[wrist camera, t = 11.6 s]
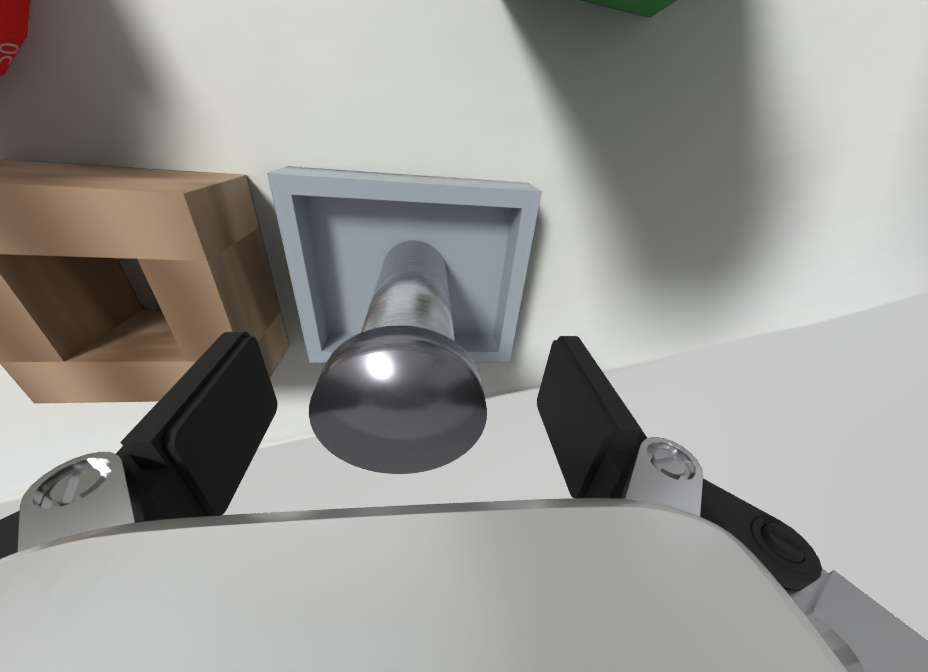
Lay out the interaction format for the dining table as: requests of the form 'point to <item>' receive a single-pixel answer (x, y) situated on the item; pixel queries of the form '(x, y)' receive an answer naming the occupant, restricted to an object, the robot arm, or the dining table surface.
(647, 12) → the milk carton
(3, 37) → the kitchen timer
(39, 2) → the dining table surface
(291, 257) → the tray
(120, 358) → the socket block
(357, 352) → the pin
